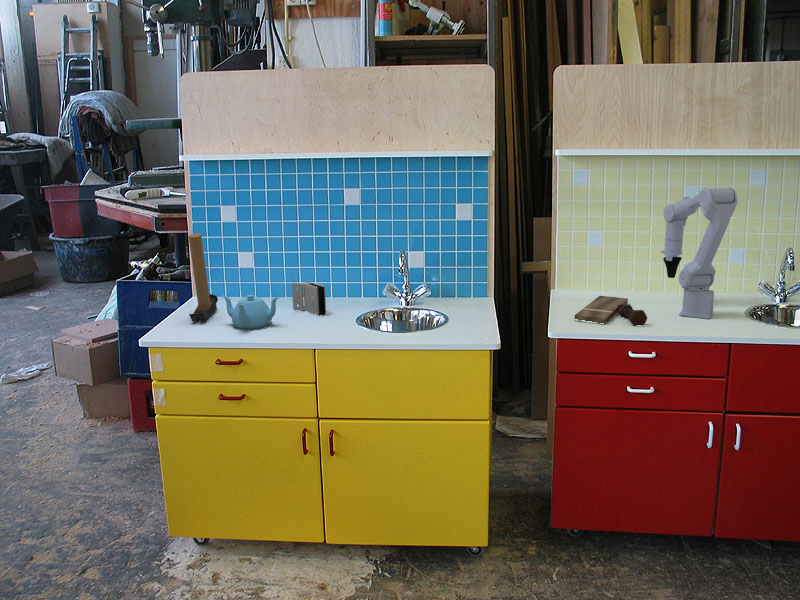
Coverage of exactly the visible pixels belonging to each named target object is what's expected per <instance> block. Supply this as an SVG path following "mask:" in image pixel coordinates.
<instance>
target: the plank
mask: <svg viewBox="0 0 800 600" xmlns="http://www.w3.org/2000/svg"><path fill="white" fill-rule="evenodd" d="M628 301H629V298H626V297H618V296H607V295H599V296H597V297H596V298H595V299H593V300H592V301H591V302H590V303H588V304H587V305H586V306H584V307H583V308H581V310H580V311H578V312H577V313H576V314H574V319H578V320H585V321H592V322H598V323H604V324H605V323H606V322H607V321H608V322H609V321H611V320H612V319H613V318H614V317H615V316H616V315H617V314H619V313H618V311H617V307H619V306H618V305H629V304H628ZM616 313H617V314H616ZM615 314H616V315H615ZM614 315H615V316H614ZM613 316H614V317H613ZM612 317H613V318H612ZM611 318H612V319H611ZM610 319H611V320H610ZM608 322H607V323H608ZM607 323H606V324H607ZM606 324H605V325H606Z"/></svg>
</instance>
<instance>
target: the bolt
mask: <svg viewBox="0 0 800 600" xmlns="http://www.w3.org/2000/svg"><path fill="white" fill-rule="evenodd" d="M618 306H619V307H617V311H618V313H617V314H618V315H619V316H620V318H622V317H627V318H626V319H628V320H629V322H630V323H631V325H632V324H633V325H643V324H644V325H645V324H646V323H647V321H648V316H647V314H646V312H645V310H643V309H634V308H633V307H632V305H631V304H627V305H618ZM633 325H632V326H633ZM644 325H643V326H644Z"/></svg>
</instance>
